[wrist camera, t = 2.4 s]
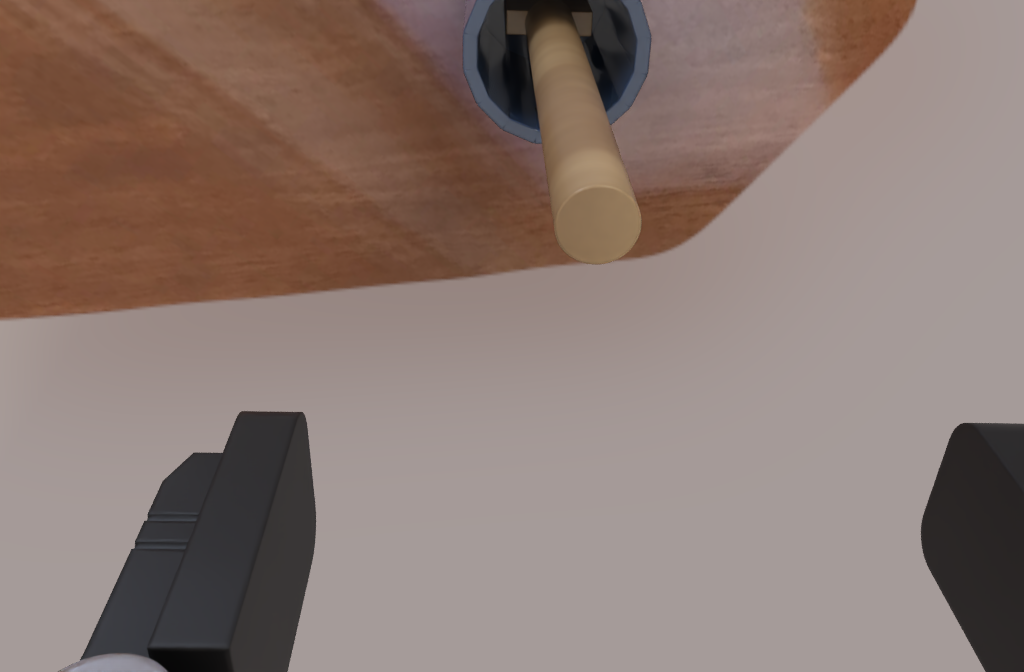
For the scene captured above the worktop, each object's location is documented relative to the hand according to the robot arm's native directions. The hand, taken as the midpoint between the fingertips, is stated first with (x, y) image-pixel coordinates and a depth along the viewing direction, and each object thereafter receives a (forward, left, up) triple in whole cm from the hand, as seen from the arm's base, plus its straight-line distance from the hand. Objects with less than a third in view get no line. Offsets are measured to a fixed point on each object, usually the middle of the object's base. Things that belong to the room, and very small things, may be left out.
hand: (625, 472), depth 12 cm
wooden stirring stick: (-1, +1, -32) cm, 32 cm away
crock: (-1, +1, -32) cm, 32 cm away
